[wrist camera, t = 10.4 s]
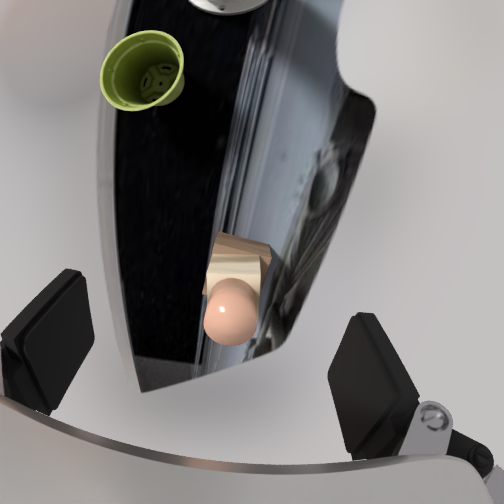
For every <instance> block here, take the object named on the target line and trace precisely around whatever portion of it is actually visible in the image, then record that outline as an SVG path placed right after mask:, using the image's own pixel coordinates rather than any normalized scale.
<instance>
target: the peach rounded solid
mask: <svg viewBox="0 0 504 504" xmlns="http://www.w3.org/2000/svg"><path fill="white" fill-rule="evenodd" d="M256 327H257V322H256V304H255V294H254V291H253V289H252V287H251V286H250V285H249V284H248V283H246V282H245V281H243V280H241V279H237V278H226V279H223V280H221V281H219V282H217V283H216V284H215V285H214V286H213V288H212V289H211V292H210V296H209V300H208V305H207V309H206V314H205V318H204V328H205V331H206V333H207V334H208V336H209V337H210V338H211V339H213V340H214V341H215V342H217V343H220V344H223V345H228V346H235V345H240V344H243V343H245V342H247V341H248V340H250V339H251V338H252V336H253V335H254V333H255V331H256Z"/></svg>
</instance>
